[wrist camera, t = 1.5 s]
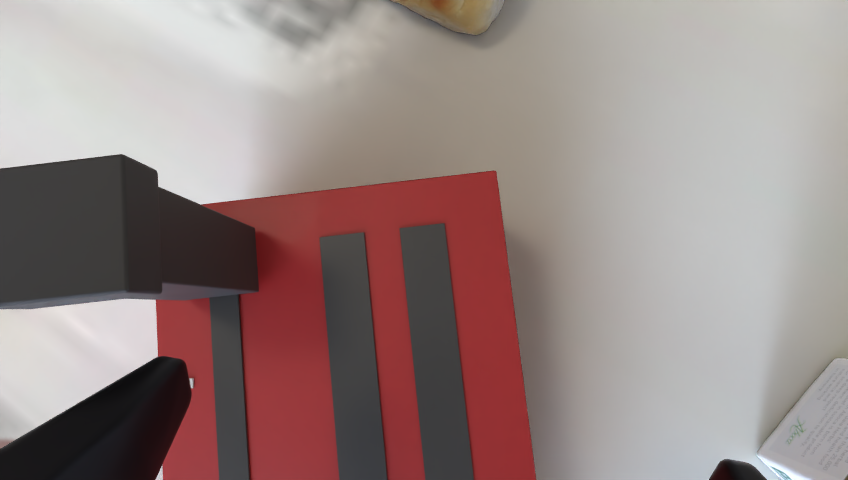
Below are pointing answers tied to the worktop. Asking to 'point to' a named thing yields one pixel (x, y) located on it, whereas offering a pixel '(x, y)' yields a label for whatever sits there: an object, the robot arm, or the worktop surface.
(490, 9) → the pastry
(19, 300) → the slider
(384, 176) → the worktop surface
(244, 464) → the toaster
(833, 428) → the syrup box
